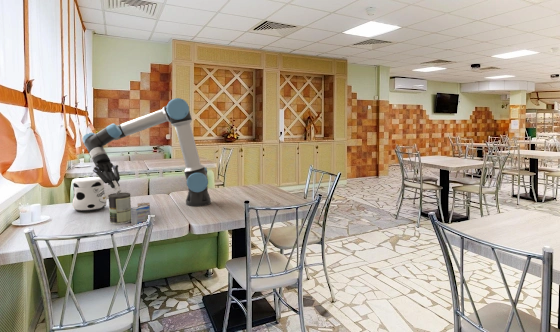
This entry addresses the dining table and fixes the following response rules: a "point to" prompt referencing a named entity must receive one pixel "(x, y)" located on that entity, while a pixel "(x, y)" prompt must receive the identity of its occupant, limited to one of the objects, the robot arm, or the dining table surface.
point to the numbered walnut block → (143, 204)
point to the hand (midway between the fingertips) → (118, 192)
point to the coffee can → (119, 208)
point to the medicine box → (139, 214)
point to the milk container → (89, 194)
